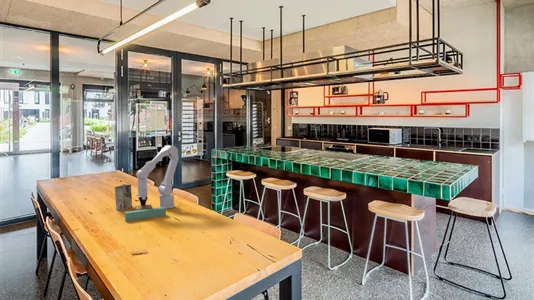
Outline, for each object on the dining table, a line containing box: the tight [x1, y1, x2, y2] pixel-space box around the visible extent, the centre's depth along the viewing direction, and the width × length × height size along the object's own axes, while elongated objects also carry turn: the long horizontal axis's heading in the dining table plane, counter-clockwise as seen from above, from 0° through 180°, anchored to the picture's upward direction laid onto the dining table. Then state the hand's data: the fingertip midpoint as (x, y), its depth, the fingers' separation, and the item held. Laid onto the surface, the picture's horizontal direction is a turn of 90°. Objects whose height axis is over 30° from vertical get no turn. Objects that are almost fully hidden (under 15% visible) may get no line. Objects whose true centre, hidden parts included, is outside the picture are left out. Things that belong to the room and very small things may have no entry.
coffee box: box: [114, 183, 133, 211], centre depth 215 cm, size 9×6×16 cm
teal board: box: [124, 207, 167, 222], centre depth 196 cm, size 24×3×5 cm, turn 118°
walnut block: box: [134, 204, 153, 211], centre depth 203 cm, size 10×8×5 cm
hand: (143, 207), depth 208 cm, fingers closed
